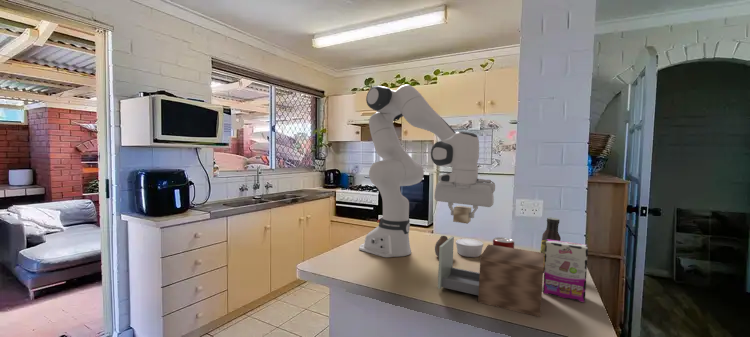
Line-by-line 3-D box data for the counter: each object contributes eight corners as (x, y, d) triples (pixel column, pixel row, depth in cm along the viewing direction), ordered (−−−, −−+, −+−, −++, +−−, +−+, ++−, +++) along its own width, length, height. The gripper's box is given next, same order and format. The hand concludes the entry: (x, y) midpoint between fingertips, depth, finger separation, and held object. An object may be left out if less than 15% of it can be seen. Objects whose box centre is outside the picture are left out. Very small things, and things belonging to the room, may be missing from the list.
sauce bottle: (536, 270, 120) (539, 217, 119) (541, 266, 124) (544, 215, 123) (556, 275, 115) (559, 220, 114) (560, 271, 120) (563, 218, 119)
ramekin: (450, 253, 138) (450, 241, 137) (464, 248, 145) (464, 236, 145) (473, 260, 129) (474, 247, 129) (487, 254, 137) (488, 242, 137)
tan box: (478, 302, 93) (480, 256, 92) (486, 284, 105) (488, 244, 105) (540, 317, 85) (543, 267, 85) (541, 296, 98) (543, 253, 97)
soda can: (514, 277, 113) (516, 243, 112) (492, 274, 114) (494, 241, 114) (510, 269, 120) (512, 238, 119) (489, 267, 121) (491, 236, 121)
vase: (433, 259, 129) (434, 237, 129) (436, 254, 136) (436, 233, 135) (450, 261, 127) (451, 239, 127) (452, 256, 133) (453, 235, 133)
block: (453, 221, 113) (453, 207, 113) (456, 219, 118) (457, 205, 117) (467, 223, 111) (468, 209, 111) (470, 221, 115) (471, 207, 115)
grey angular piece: (437, 288, 99) (439, 246, 98) (449, 273, 111) (451, 236, 110) (489, 300, 91) (491, 255, 91) (496, 283, 104) (498, 243, 103)
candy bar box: (584, 296, 99) (588, 244, 98) (585, 303, 94) (588, 248, 93) (543, 287, 104) (546, 238, 103) (542, 293, 100) (545, 241, 99)
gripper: (496, 179, 111) (494, 218, 112) (439, 175, 121) (437, 211, 122) (494, 180, 106) (491, 222, 107) (434, 176, 115) (432, 214, 116)
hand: (462, 216), depth 114 cm, fingers closed on block, 5 cm apart
